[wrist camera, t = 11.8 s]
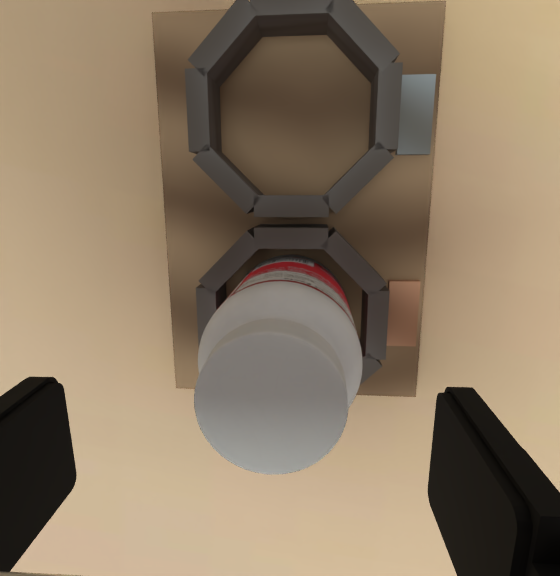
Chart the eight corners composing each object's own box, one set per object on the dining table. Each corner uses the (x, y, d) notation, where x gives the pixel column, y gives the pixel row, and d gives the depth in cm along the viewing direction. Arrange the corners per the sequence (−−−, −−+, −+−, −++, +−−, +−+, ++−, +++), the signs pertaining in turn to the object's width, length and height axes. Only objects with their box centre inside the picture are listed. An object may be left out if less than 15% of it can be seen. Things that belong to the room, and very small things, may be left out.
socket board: (159, 20, 21) (129, -13, 18) (439, 9, 20) (464, -28, 17) (181, 380, 26) (160, 409, 22) (411, 388, 25) (426, 420, 21)
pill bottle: (287, 379, 24) (263, 531, 13) (214, 303, 23) (126, 396, 13) (370, 312, 23) (419, 419, 12) (295, 228, 22) (275, 262, 11)
